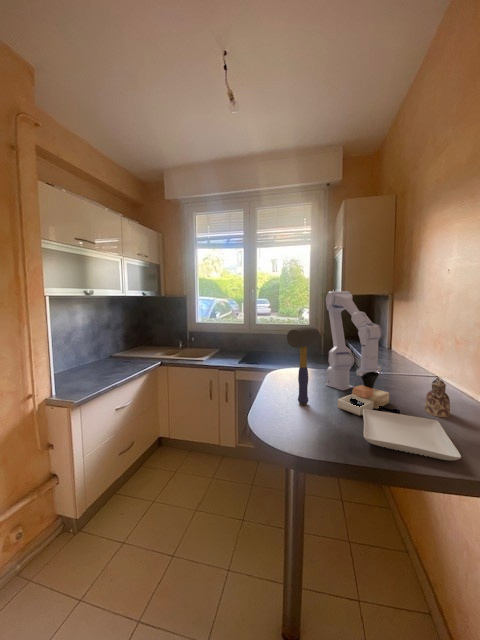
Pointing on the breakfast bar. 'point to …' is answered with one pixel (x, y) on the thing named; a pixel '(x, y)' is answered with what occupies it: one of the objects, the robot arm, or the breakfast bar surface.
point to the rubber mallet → (303, 355)
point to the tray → (346, 405)
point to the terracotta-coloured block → (363, 391)
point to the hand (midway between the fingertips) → (368, 390)
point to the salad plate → (408, 434)
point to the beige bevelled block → (378, 398)
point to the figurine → (437, 400)
